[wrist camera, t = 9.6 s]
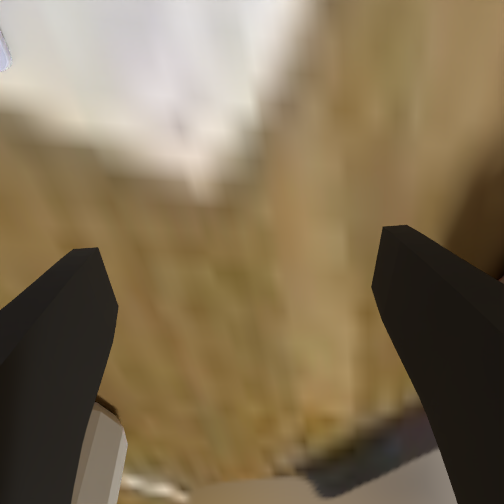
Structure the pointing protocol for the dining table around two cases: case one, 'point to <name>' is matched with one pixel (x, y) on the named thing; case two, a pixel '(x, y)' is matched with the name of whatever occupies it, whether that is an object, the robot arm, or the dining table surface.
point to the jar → (100, 459)
